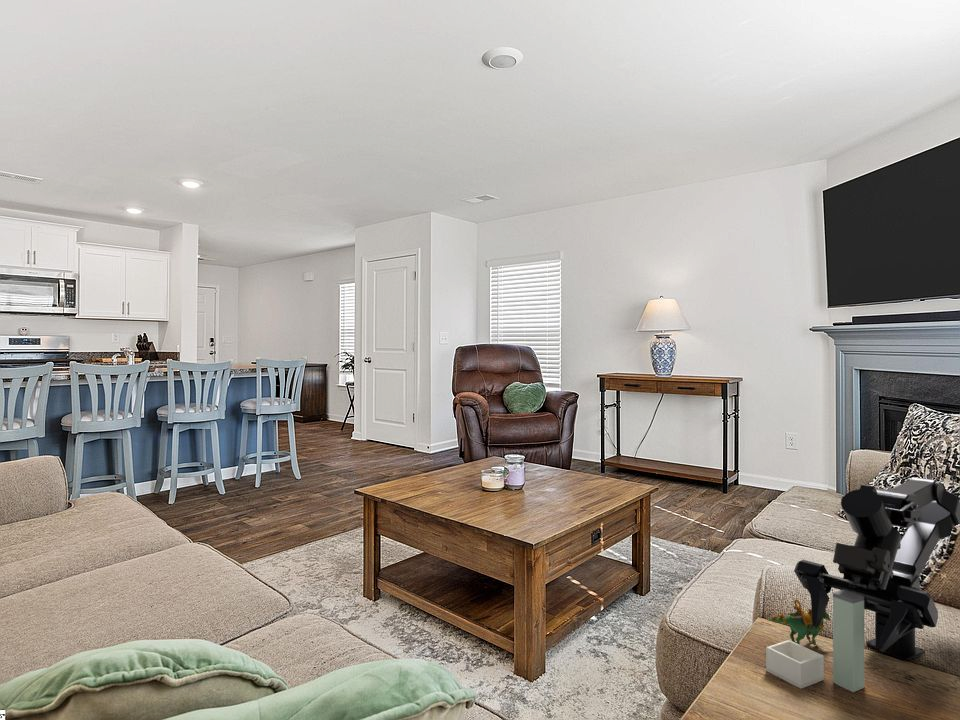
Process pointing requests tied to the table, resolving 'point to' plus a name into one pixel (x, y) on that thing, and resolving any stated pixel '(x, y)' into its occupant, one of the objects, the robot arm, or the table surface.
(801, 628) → the figurine
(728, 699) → the table surface
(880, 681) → the table surface
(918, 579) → the robot arm
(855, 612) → the sage bracket post
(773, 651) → the ceramic well
